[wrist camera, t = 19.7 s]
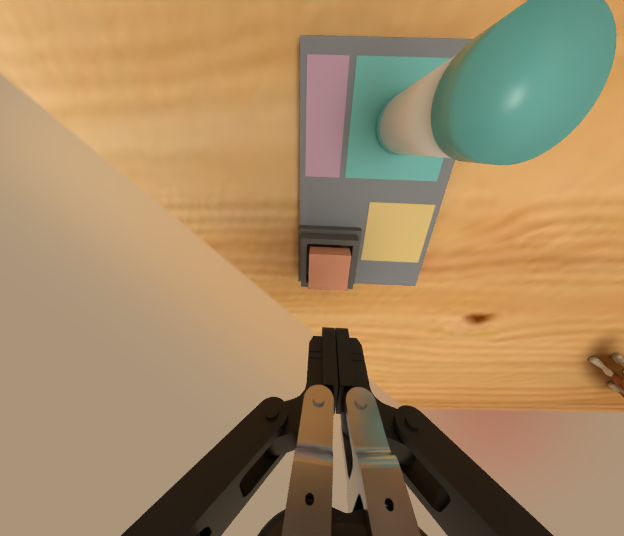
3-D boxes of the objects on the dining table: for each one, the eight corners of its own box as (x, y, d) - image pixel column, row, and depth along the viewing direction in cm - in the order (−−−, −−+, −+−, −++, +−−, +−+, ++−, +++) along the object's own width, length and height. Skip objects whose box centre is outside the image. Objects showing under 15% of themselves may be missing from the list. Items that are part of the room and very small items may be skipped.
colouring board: (301, 40, 16) (296, 16, 13) (483, 45, 16) (521, 21, 13) (300, 275, 26) (297, 293, 23) (411, 281, 25) (424, 299, 22)
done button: (310, 246, 20) (309, 253, 19) (349, 248, 20) (351, 255, 19) (309, 279, 22) (308, 288, 21) (345, 281, 22) (346, 290, 20)
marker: (380, 89, 16) (494, -19, 6) (437, 93, 16) (655, -8, 6) (370, 153, 18) (440, 161, 8) (420, 156, 18) (559, 168, 8)
